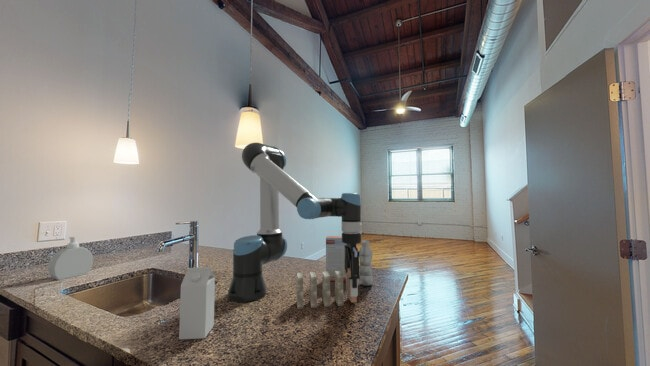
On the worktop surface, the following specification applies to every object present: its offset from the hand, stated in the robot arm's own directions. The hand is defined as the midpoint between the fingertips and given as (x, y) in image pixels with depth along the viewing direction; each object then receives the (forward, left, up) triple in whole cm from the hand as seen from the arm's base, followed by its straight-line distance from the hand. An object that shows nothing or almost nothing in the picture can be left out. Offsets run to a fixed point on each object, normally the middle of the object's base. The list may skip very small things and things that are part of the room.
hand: (351, 292), depth 97 cm
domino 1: (-20, 0, -3) cm, 20 cm away
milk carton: (-51, -15, -4) cm, 53 cm away
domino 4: (-5, 0, -3) cm, 6 cm away
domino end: (0, 0, -2) cm, 2 cm away
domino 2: (-15, 0, -3) cm, 15 cm away
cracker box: (+1, +26, -4) cm, 26 cm away
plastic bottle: (+11, +17, -4) cm, 21 cm away
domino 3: (-10, 0, -3) cm, 11 cm away
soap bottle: (-135, +52, -4) cm, 145 cm away
